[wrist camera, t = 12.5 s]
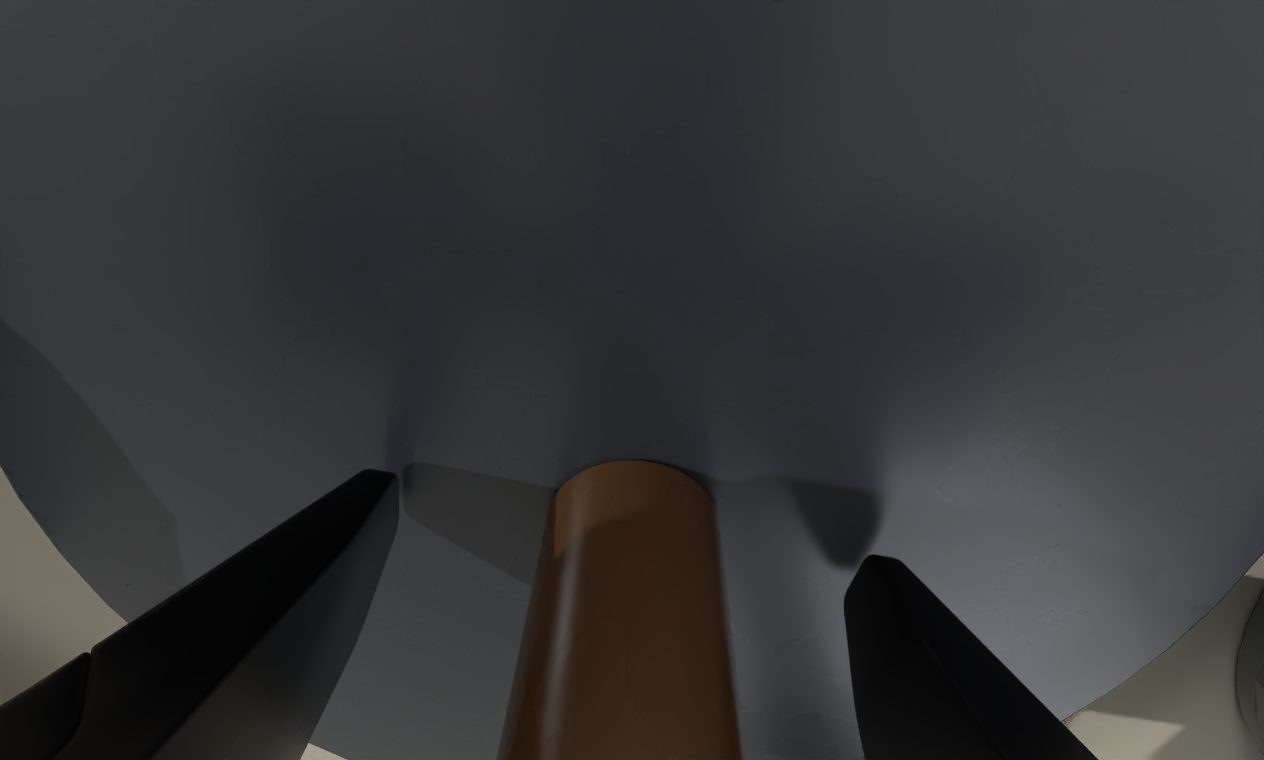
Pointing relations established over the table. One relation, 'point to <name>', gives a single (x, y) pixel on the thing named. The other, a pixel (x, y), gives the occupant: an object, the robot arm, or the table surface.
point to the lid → (646, 336)
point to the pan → (1253, 674)
